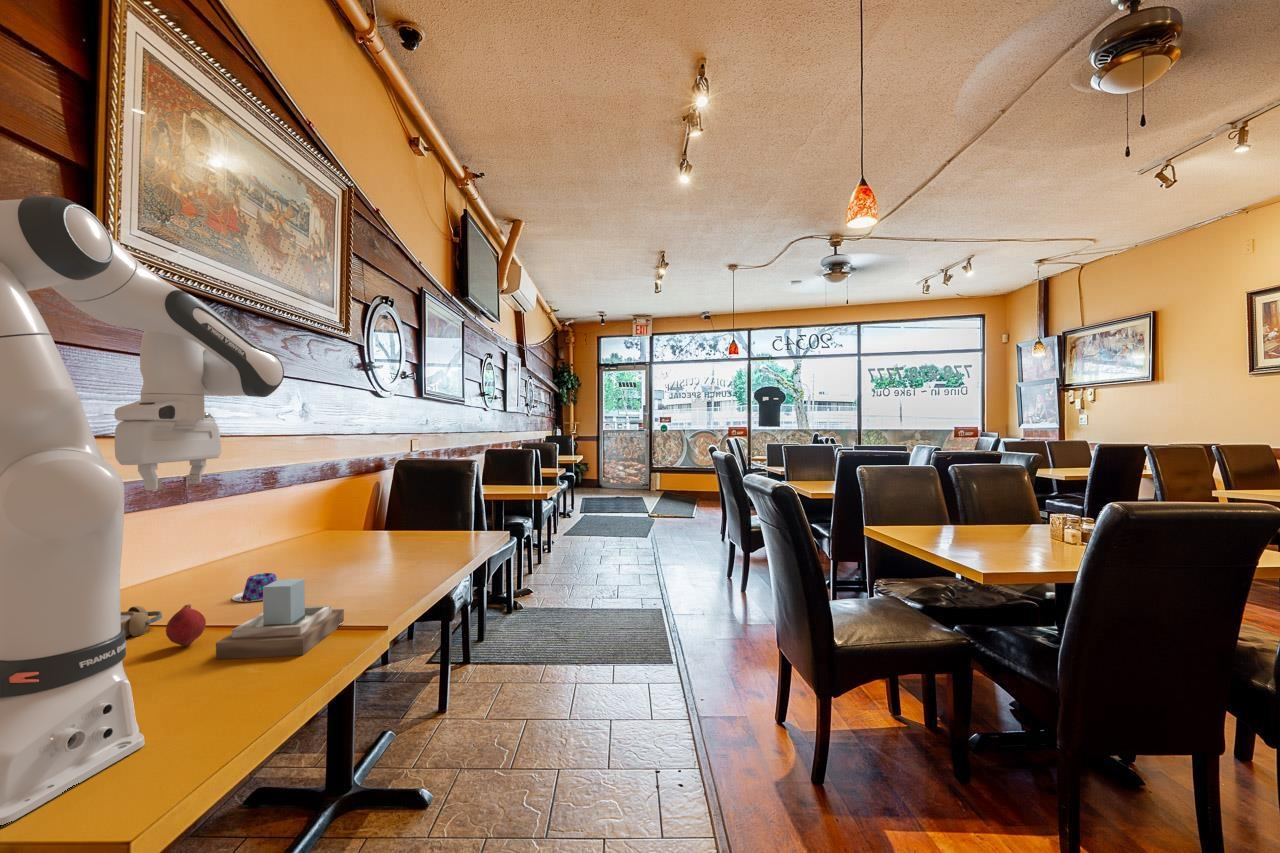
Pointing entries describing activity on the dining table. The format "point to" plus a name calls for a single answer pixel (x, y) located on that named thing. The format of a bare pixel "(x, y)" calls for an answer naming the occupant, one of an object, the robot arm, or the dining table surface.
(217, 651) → the tray
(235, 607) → the dining table surface
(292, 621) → the light blue-grey block
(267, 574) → the purple and white hat
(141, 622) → the alarm clock
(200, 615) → the onion
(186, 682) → the dining table surface
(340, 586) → the dining table surface
